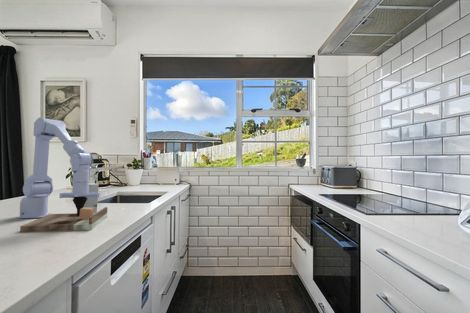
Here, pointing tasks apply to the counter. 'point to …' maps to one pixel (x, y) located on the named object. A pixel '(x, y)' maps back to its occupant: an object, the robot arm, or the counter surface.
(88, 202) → the skincare box
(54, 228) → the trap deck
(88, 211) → the terracotta block
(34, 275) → the counter surface
